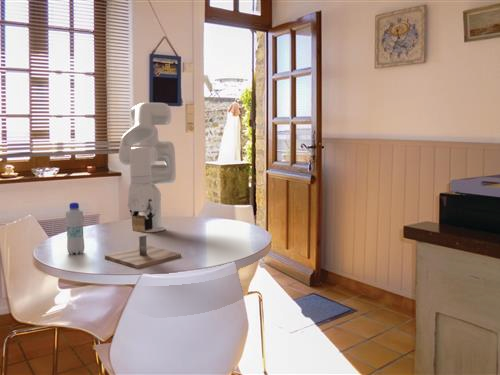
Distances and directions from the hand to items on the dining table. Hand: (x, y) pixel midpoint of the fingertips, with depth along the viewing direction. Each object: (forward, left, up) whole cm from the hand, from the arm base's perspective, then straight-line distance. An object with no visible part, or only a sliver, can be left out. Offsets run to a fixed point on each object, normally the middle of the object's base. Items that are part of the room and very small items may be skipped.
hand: (142, 227), depth 180 cm
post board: (0, 0, -12) cm, 12 cm away
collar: (0, 0, -1) cm, 1 cm away
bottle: (-25, -13, -12) cm, 31 cm away
